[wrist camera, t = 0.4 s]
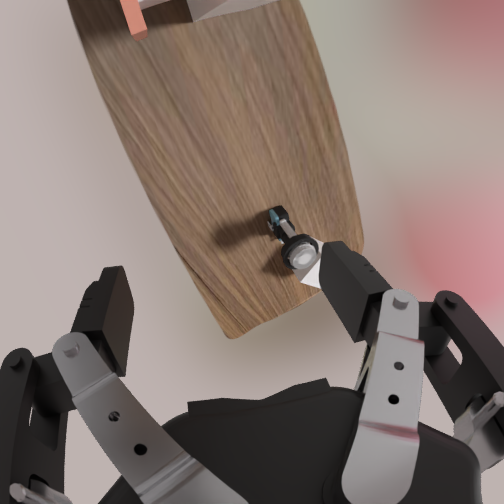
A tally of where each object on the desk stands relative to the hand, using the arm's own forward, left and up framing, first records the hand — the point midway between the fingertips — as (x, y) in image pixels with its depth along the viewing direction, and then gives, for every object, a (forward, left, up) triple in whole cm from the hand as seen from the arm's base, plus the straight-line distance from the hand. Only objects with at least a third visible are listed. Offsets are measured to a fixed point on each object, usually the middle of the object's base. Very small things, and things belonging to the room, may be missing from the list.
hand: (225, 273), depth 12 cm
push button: (+23, -5, -28) cm, 36 cm away
